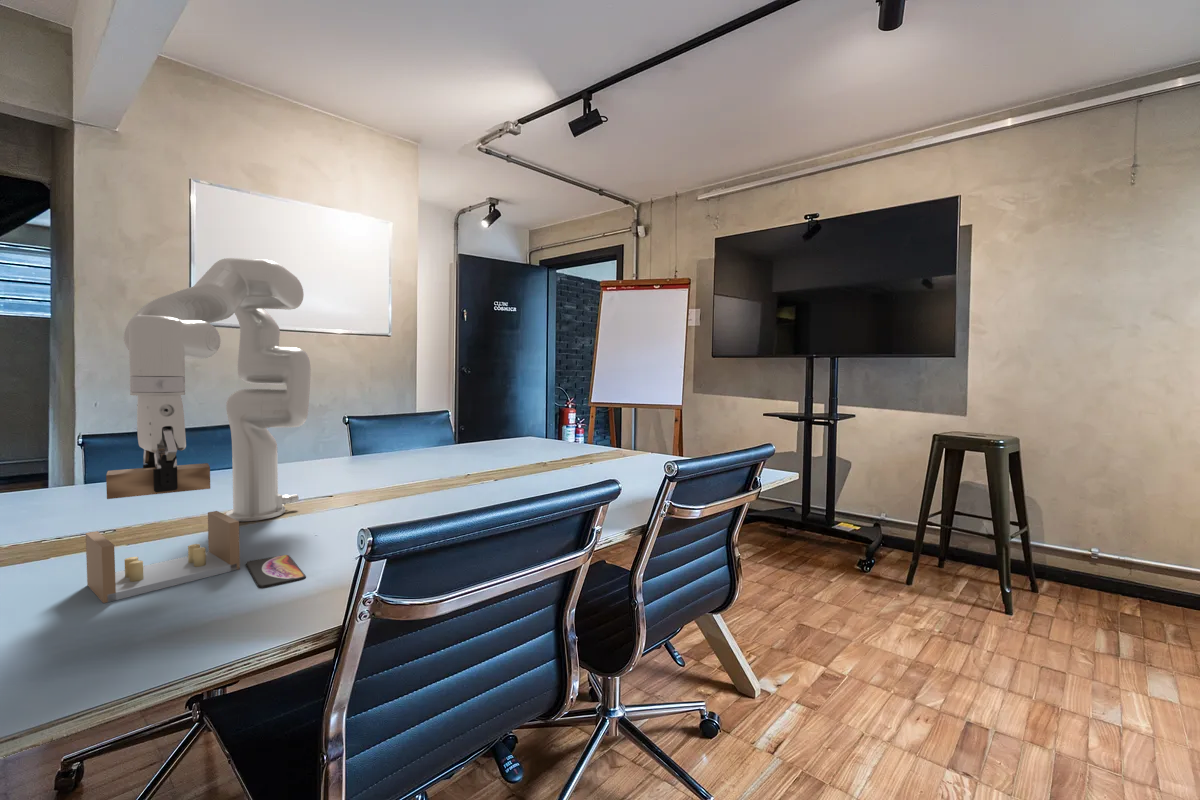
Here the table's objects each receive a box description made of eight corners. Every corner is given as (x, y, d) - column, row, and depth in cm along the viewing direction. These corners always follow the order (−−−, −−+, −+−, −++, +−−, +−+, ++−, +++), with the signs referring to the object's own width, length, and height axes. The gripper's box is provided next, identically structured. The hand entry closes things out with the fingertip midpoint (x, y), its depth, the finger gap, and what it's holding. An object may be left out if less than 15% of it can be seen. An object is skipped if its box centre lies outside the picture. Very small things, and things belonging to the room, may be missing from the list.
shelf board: (208, 484, 103) (207, 463, 102) (210, 488, 99) (209, 467, 98) (108, 493, 94) (107, 470, 93) (106, 499, 90) (106, 475, 90)
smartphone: (288, 553, 108) (307, 576, 97) (288, 557, 108) (307, 581, 97) (244, 561, 103) (259, 586, 92) (244, 565, 103) (259, 591, 92)
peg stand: (217, 555, 107) (216, 510, 106) (239, 568, 100) (239, 521, 100) (87, 585, 92) (85, 533, 91) (103, 603, 85) (101, 547, 85)
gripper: (200, 388, 93) (201, 492, 94) (170, 385, 103) (171, 478, 104) (144, 388, 87) (146, 499, 88) (118, 385, 97) (120, 484, 98)
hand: (160, 487), depth 96 cm, fingers closed on shelf board, 5 cm apart
